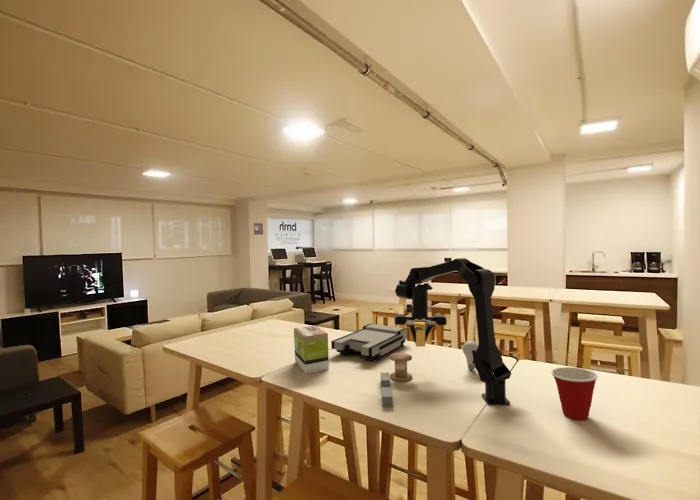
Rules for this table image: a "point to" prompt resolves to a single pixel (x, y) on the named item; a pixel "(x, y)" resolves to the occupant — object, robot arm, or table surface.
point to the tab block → (420, 337)
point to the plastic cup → (575, 391)
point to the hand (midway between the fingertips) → (419, 342)
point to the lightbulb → (469, 353)
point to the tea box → (311, 349)
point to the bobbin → (401, 367)
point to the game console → (371, 341)
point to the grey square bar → (386, 390)
